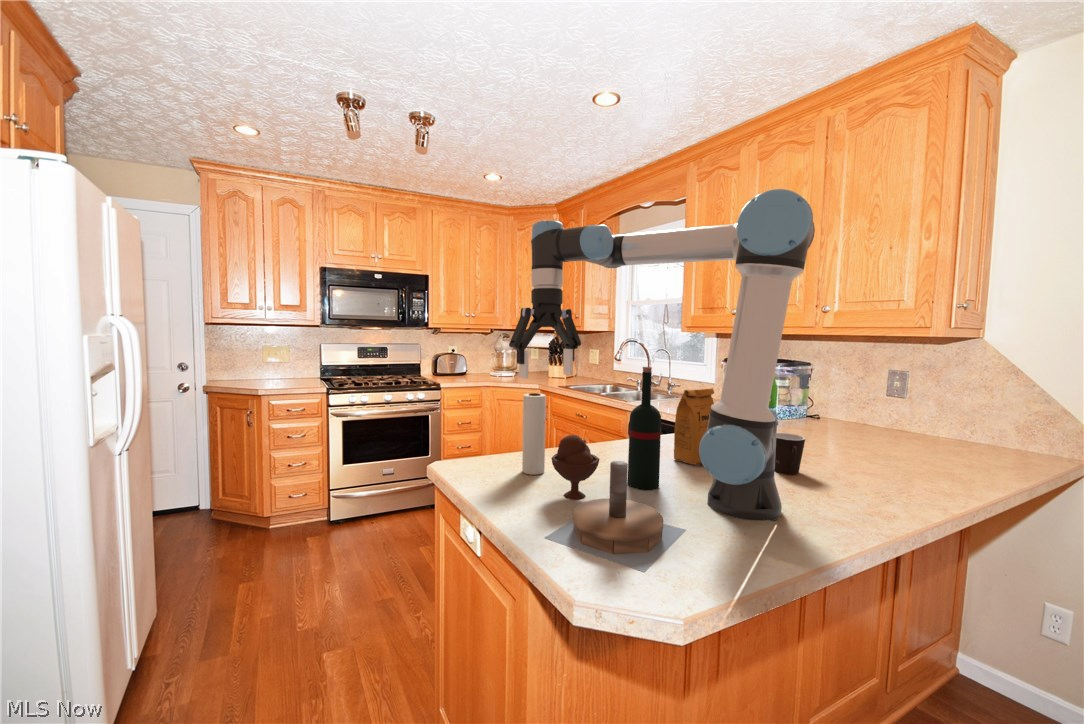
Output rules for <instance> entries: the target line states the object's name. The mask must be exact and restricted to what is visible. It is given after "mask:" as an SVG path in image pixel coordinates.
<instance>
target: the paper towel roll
mask: <svg viewBox="0 0 1084 724" xmlns="http://www.w3.org/2000/svg"><path fill="white" fill-rule="evenodd" d="M546 399H547V395H546V394H544V393H540V392H536V393H535V392H534V393H533V392H531V393H524V394H523V399H522V403H523V404H522V405H523V406H522V407H523V409H522V464H521V465H522V467H521V468H522V473H524V474H527V475H533V476H534V475H535V476H537V475H541V474H543V473H545V468H546V465H545V464H546V461H545V460H546V413H547V412H546V410H547V409H546V405H547V404H546V403H547V401H546Z"/></svg>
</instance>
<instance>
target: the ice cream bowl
mask: <svg viewBox="0 0 1084 724" xmlns="http://www.w3.org/2000/svg"><path fill="white" fill-rule="evenodd" d="M557 448H558V449H557V453H555V454H554V455H552V457H551V464H552V466H553V468H554V470H555V471H556V472H557V473H558V474H559V475H560V476H561V477H562V478H563V479H565V480H566V481H569V483H570V490H568V491H566V492H565V493H564V494H563V495H562V496H563V497H564V498H565V499H566V500H570V501H580V500H584V499H585V498H586V497H587V495H586V494H584V493H583V492H582V491H580V490H579V489H580V488H579V486H580V485H579V484H580V482H583V481H586V480H587V479H589V478H590V477H591V476H592V475H593V474H594V473H595V472H596V470H597V468H598V466H599V464H600V458H599V457H598V456H596V455H595V454H592V452H591V449H590V448H589V446H588V445H587V444H586V442H585V441H584V440H583V439H582V437H580V436H579V435H576V434H572V435H571V434H569V435H566V436H564V437H563V438H562V439H560V441H559V443H558V447H557Z"/></svg>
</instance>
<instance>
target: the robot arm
mask: <svg viewBox="0 0 1084 724" xmlns="http://www.w3.org/2000/svg"><path fill="white" fill-rule="evenodd" d="M815 230H816V228H815V222H814V213H813V209H812V207H811V205H810V203H809V202H808V201H807V200H806V199H805V198H804V197H803V196H802V195H800V194H799V193H797V192H795V191H794V190H789V189H784V188H776V189H775V188H773V189H768V190H765V191H763V192H761V193H759V194H757V195H755V196H754V197H753V198H751V199H750V200H749V201H748V202H746V204H745V205H744V207H743V208H742V209H741V211H740V213H739V215H738V218H737V222H736V223H730V224H720V225H709V226H697V227H689V228H688V227H687V228H686V227H685V228H677V229H676V228H675V229H667V230H664V229H663V230H657V231H654V230H653V231H644V232H634V233H633V232H632V233H626V234H613V233H612V231H611V230H610V227H609V226H607V225H605V224H589V225H585V226H579V227H569V228H564V225H563V223H562V222H560V221H558V220H539V221H536V222H534V223H533V225H532V227H531V239H530V245H531V287H532V290H530V291H531V294H530V296H531V297H530V298H531V301H530V302H531V304H532V308H530V307H521V309H520V317H519V319H518V321H517V324H516V325H515V329H514V331H513V333H512V336H511V339H510V341H509V344H508V346H509V348H511V349H512V348H513V350H515V351H516V363H517V364H518V372H519V373H518V378H520V379H529V349H528V350H526V348H528V346H529V344H530V343H531V341H532V340H533V339H534V336H535V335H536V334H537V333H538V332H539V330H540V329H541V328H552V329H554V331H555V333H556V334H557V335H558V337H559V338H560V340H561V342H562V344H563V345H564V346H565V348H563V358H562V359H563V362H562V363H563V364H562V366H563V367H562V368H563V369H562V370H563V371H562V372H563V375H565V376H573V374H574V372H573V370H574V369H573V365H574V362H575V349H576V350H578V347H580V346H581V345H582V341H581V338H580V336H579V334H578V333H579V332H578V330H577V327H576V324H575V322H574V320H573V311H572V309H571V308H565V309H564V308H562V305H563V301H564V300H563V299H564V298H563V297H564V296H563V294H564V293H563V290H562V287H563V285H564V281H563V280H564V276H563V275H564V271H563V270H564V269H563V268H564V267H563V266H564V263H569V262H587V263H590V264H593V265H594V264H595V265H597V266H598V265H599V266H602V267H604V268H607V269H617V268H620V267H625V266H637V265H638V266H639V265H654V264H655V265H656V264H657V265H658V264H660V265H661V264H676V263H677V264H678V263H680V264H681V263H695V262H698V263H699V262H715V261H734V260H735V265H734V268H735V269H736V270H737V271H738V273H739V274H740V276H741V280H740V285H739V286H740V287H739V291H738V296H737V297H738V298H737V302H736V308H735V315H734V319H733V324H732V330H731V331H732V332H731V337H730V344H729V350H728V354H727V355H728V356H727V361H726V365H725V373H724V377H723V383H722V388H721V395H720V399H719V400H717V401H715V403H714V404H713V405H712V406H711V410H710V415H709V421H708V427H707V432H706V433H705V434H704V435H703V437H702V439H701V441H700V446H699V455H700V459H701V462H702V463H701V464H702V466H703V467H704V468H705V470H706V471H707V473H708V474H709V475H711V476H712V478H713V480H712V481H711V484H710V485H711V486H709V490H708V493H707V505H708V507H710V508H711V509H712V510H714V511H716V512H719V513H720V514H723V515H726V516H729V517H732V518H736V519H741V520H746V521H747V520H749V521H760V522H761V521H775V520H778V519H779V518H781V516H782V502H781V498H780V494H779V491H778V488H777V484H776V480H775V453H776V436H777V433H778V426H779V421H778V412H777V411H776V410H775V409H773V408H769V407H770V406H769V405H770V401H771V396H772V390H773V384H774V379H775V375H776V368H777V365H778V364H777V363H778V358H779V352H780V347H781V342H782V336H783V331H784V326H785V320H786V316H787V310H788V306H789V305H788V304H789V299H790V294H791V289H792V283H793V281H794V280H795V279H796V278H797V277H799V276H800V275H801V274H803V273H804V270H805V265H806V260H807V256H808V255H807V254H808V252H809V249H810V247H811V245H812V243H813V241H814V237H815V233H816V231H815ZM531 317H532V318H533V319H532V320H531ZM530 320H531V321H530ZM528 325H529V326H528ZM527 327H528V328H527Z"/></svg>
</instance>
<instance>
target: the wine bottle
mask: <svg viewBox="0 0 1084 724" xmlns="http://www.w3.org/2000/svg"><path fill="white" fill-rule="evenodd" d="M652 368H653V367H651V366H642V377H641V401H640V402H641V404H638V405H636V406H635V407H634V408H633V409H632V410H631V412H630V415H629V422H628V424H627V434H628V456H627V458H628V459H627V464H628V469H627V486H628V487H629V488H631V489H634V490H635V489H636V490H640V491H655V490H658V489H659V487H660V470H661V469H660V468H661V437H662V436H661V432H662V429H661V427H662V415H661V413H660V411H659V410H658V408H657V407H656V406H653V405H652V404H651V400H652V399H651V398H652V370H653V369H652Z"/></svg>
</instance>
